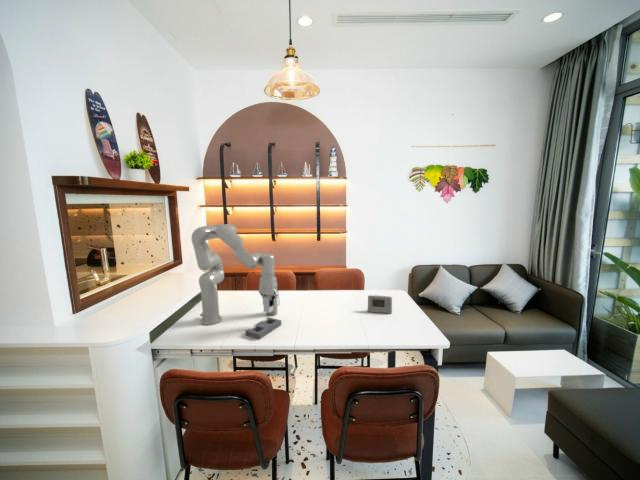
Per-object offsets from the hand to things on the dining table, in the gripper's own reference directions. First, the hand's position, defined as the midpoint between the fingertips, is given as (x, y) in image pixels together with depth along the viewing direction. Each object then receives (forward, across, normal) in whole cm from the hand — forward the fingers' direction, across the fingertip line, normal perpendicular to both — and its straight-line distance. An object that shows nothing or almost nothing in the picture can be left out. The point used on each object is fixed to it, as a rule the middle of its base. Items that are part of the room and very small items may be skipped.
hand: (268, 304), depth 163 cm
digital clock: (+12, +54, +51) cm, 75 cm away
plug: (+4, 0, 0) cm, 4 cm away
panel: (+13, +1, -5) cm, 14 cm away
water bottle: (+14, -9, +17) cm, 23 cm away
